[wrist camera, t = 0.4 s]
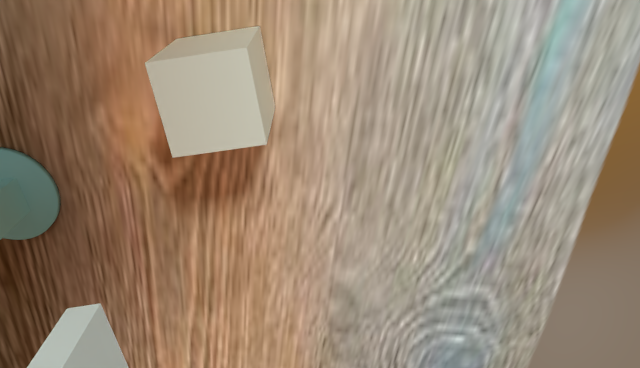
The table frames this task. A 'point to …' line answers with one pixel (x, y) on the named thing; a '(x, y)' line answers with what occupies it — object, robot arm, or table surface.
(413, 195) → the table surface
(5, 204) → the teal post on base
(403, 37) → the table surface
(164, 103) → the white rectangular block
